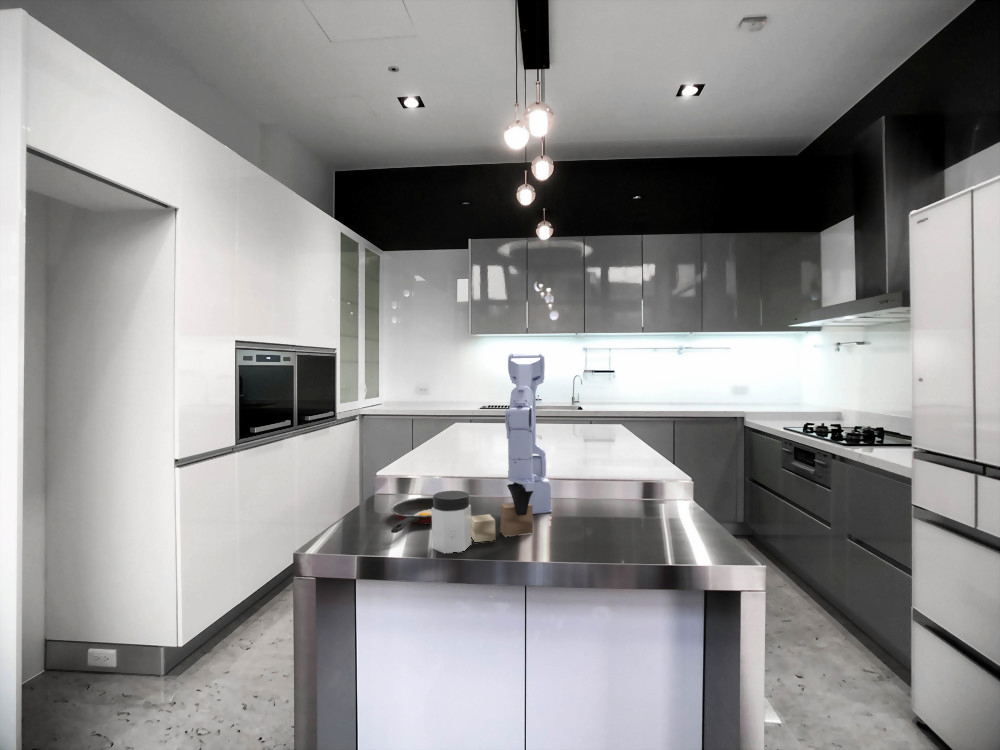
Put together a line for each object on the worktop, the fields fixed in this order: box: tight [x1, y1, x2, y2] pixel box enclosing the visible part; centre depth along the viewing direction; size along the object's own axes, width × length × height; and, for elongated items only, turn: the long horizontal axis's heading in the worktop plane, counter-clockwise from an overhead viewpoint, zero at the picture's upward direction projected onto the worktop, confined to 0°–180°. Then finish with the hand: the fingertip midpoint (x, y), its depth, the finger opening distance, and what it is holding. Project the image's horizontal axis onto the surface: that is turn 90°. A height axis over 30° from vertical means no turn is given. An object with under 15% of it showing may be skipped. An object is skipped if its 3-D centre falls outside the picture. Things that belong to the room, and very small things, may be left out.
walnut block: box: [499, 502, 534, 538], centre depth 131 cm, size 7×4×7 cm, turn 106°
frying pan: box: [389, 496, 433, 534], centre depth 139 cm, size 19×32×4 cm, turn 169°
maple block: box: [471, 514, 496, 543], centre depth 127 cm, size 5×5×5 cm
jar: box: [431, 490, 472, 554], centre depth 121 cm, size 9×8×12 cm
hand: (521, 514), depth 127 cm, fingers closed
